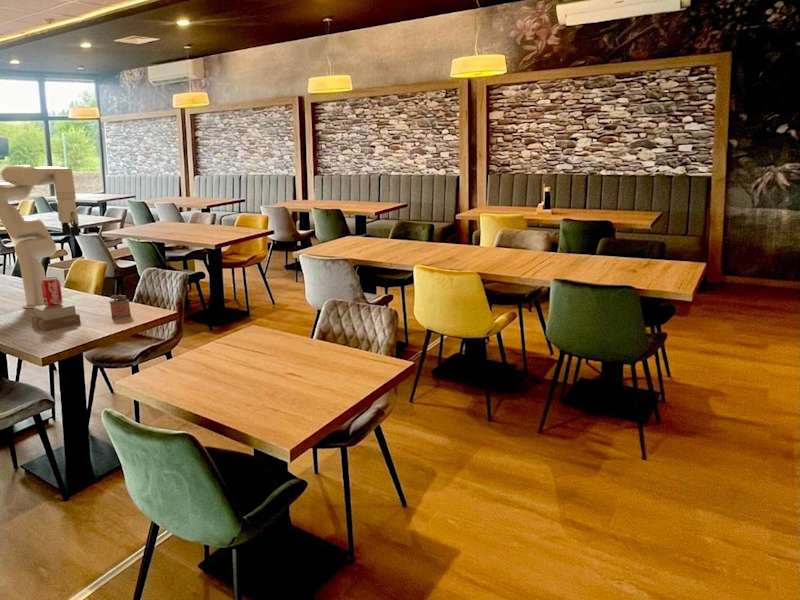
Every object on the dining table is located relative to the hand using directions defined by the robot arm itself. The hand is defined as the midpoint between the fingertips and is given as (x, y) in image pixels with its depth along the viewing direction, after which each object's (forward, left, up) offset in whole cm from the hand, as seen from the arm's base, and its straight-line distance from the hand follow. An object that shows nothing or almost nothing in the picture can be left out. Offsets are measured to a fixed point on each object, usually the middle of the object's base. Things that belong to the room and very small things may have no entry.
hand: (71, 234), depth 283 cm
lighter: (+24, +7, -36) cm, 43 cm away
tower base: (+13, -16, -35) cm, 41 cm away
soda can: (+13, -16, -28) cm, 34 cm away
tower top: (+13, -16, -31) cm, 38 cm away
